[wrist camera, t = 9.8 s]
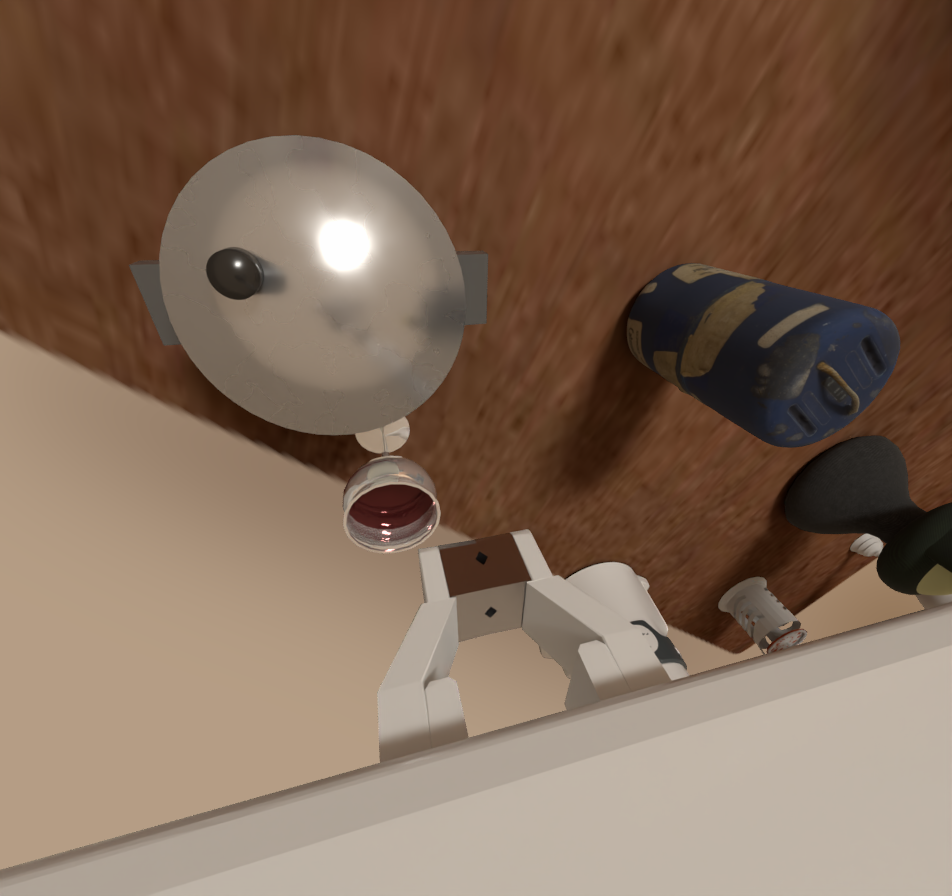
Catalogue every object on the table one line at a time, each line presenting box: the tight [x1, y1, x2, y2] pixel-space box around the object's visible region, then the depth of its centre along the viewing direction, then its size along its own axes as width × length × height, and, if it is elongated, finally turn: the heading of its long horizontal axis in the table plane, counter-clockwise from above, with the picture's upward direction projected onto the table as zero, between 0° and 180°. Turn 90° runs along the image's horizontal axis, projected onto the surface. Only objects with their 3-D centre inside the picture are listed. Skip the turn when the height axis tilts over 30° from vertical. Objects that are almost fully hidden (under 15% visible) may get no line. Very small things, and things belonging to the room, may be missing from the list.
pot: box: [129, 251, 488, 345], centre depth 25 cm, size 14×18×10 cm
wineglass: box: [343, 417, 441, 553], centre depth 33 cm, size 7×7×12 cm
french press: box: [718, 577, 807, 655], centre depth 65 cm, size 10×12×25 cm
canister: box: [627, 263, 900, 447], centre depth 31 cm, size 10×10×18 cm
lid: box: [159, 135, 466, 435], centre depth 20 cm, size 14×14×2 cm
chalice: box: [850, 534, 952, 609], centre depth 68 cm, size 7×7×18 cm
